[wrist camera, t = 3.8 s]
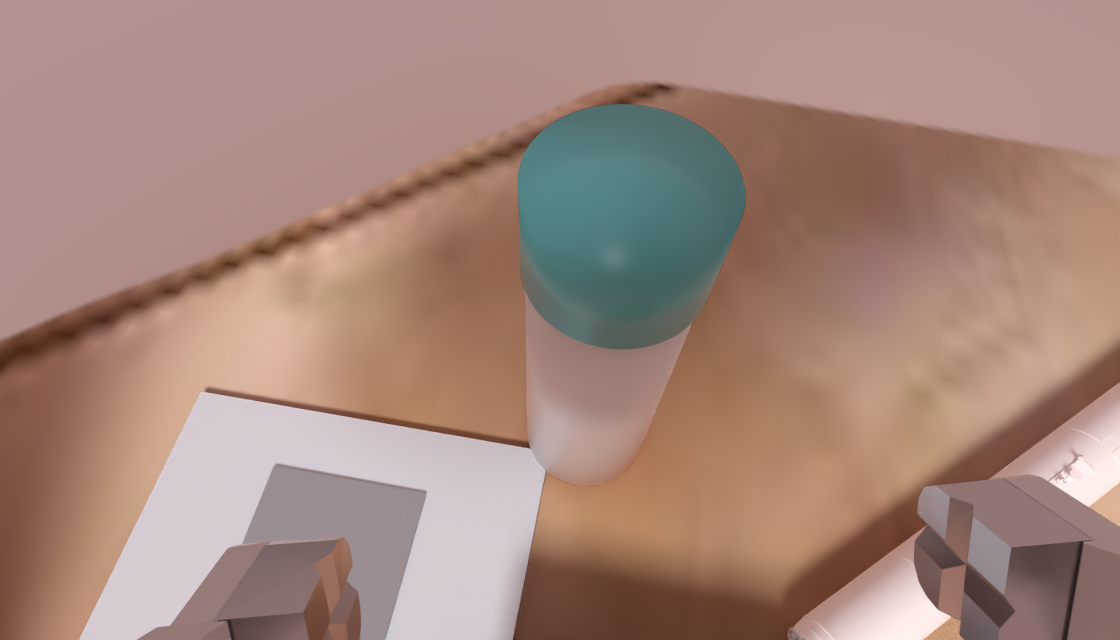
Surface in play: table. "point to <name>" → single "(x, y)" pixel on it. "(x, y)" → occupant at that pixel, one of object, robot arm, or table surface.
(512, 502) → the drawing sheet
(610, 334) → the fat marker
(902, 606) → the marker
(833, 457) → the table surface
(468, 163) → the table surface
